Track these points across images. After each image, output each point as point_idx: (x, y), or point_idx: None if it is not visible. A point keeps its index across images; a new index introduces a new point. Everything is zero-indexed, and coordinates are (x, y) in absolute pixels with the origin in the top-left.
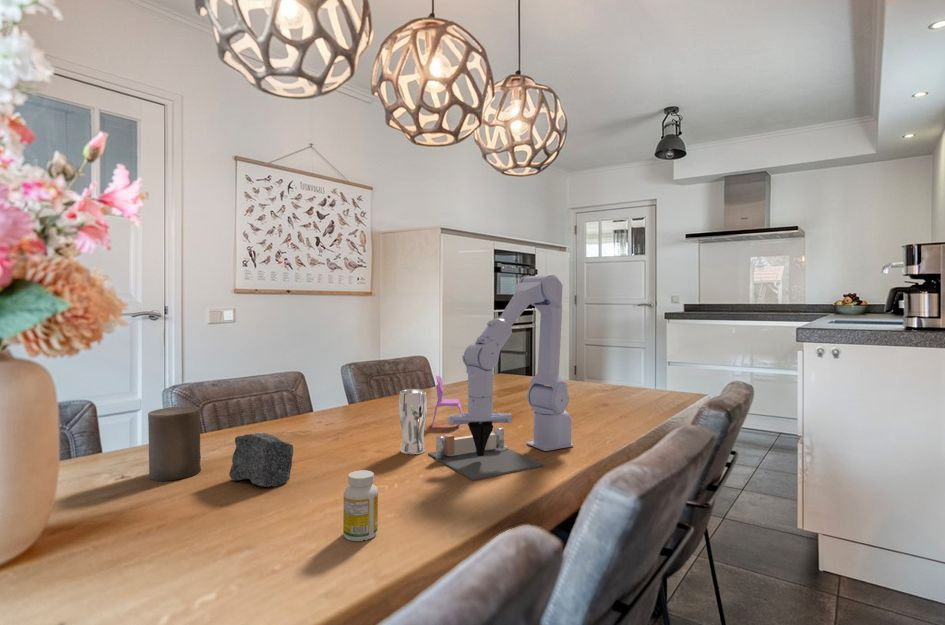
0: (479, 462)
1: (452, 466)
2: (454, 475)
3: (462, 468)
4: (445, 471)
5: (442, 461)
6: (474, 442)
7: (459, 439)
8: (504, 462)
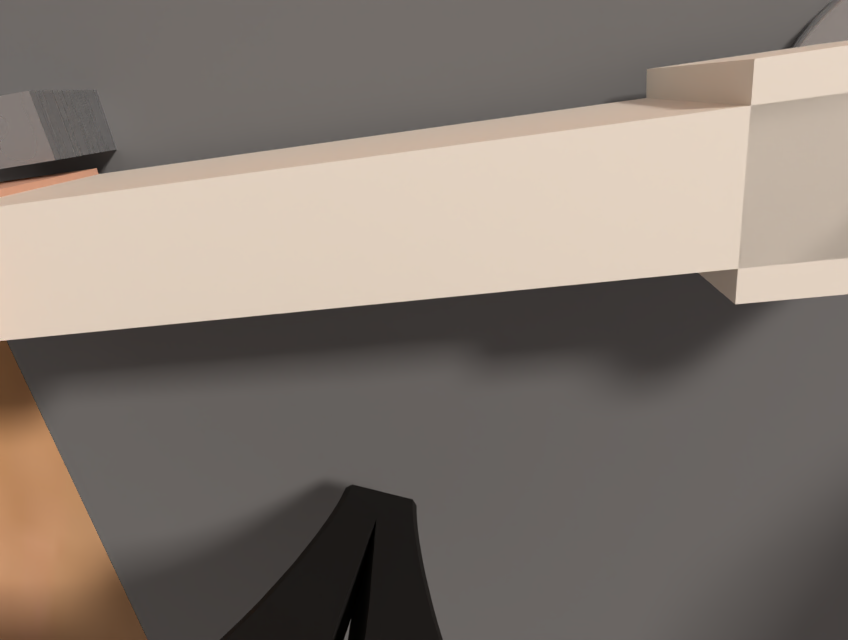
0: None
1: (91, 503)
2: (98, 618)
3: (169, 574)
4: (37, 529)
5: None
6: (287, 571)
7: (77, 332)
8: (591, 590)
